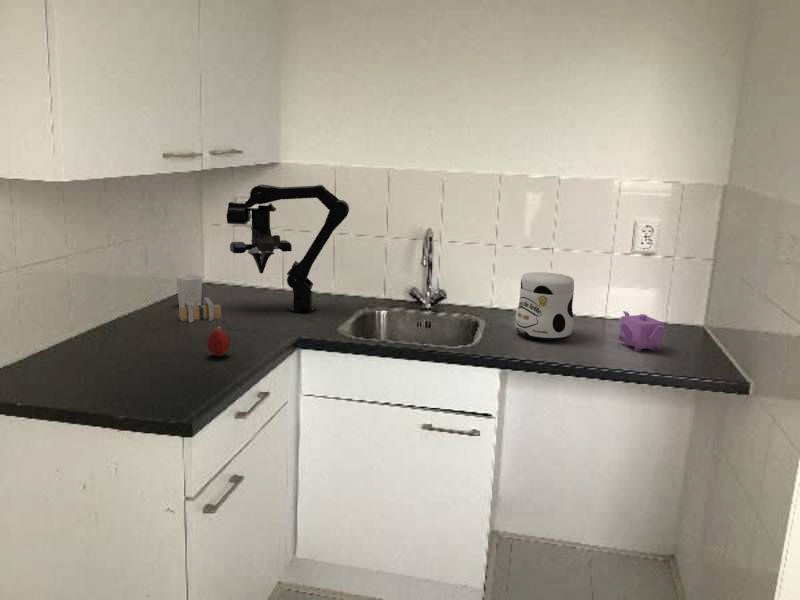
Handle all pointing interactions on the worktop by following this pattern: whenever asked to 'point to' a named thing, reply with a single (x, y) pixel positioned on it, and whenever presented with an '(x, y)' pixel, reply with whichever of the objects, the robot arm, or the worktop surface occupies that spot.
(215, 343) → the onion
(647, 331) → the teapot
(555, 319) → the milk container
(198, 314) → the taped cardboard box
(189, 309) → the gray bracket rail
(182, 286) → the white cup
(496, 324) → the worktop surface
